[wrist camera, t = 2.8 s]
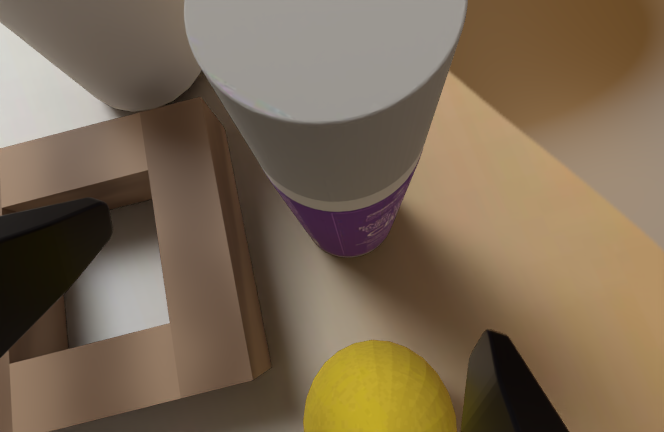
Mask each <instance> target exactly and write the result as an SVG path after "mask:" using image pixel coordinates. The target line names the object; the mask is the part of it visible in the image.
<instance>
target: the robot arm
mask: <svg viewBox="0 0 664 432" xmlns="http://www.w3.org/2000/svg"><path fill="white" fill-rule="evenodd" d="M112 231H113V229H112V223H111V217H110V211H109V207H108V205H107V203H105V202H104V201H101V200H98V199H95V198H91V197H87V198H82V199H77V200H72V201H68V202H63V203H58V204H54V205H49V206H44V207H40V208H35V209H30V210H26V211H21V212H16V213H11V214H7V215H2V216H0V358H1V357H2V356H3V355H4V354H5V353H6V352H7V351H8V350H9V349H10V348H11V347H12V346H13V345H14V344H15V343H16V342H17V341H18V340H19V339H20V338H21V337H22V336H23V335H24V334H25V333H26V332H27V331H28V330H29V329H30V328H31V327H32V326H33V325H34V324H35V323H36V322H37V321H38V320H39V319H40V318H41V317H42V316H43V315H44V314H45V313H46V312H47V311H48V310H49V309H50V308H51V307H52V306H53V305H54V304H55V303H56V302H57V301H58V300H59V299H60V298H61V297H62V295H63V294H64V293H65V292H66V291H67V290H68V289H69V288H70V287H71V286H72V285H73V283H74V282H75V281H76V280H77V279H78V277H79V276H80V275H81V274H82V272H83V271H84V270H85V269H86V268H87V266H88V265H89V264H90V263H91V261H92V260H93V259H94V258H95V256H96V255H97V254H98V253H99V252H100V250H101V249H102V248H103V247H104V245H105V244H106V243H107V242H108V240H109V239H110V237H111V235H112ZM461 432H569V430H568V429H567V427H566V426H565V424H564V423H563V421H562V420H561V418H560V416H559V415H558V413H557V412H556V410H555V409H554V407H553V405H552V404H551V402H550V401H549V399H548V398H547V396H546V394H545V393H544V391H543V390H542V388H541V387H540V385H539V383H538V382H537V380H536V379H535V377H534V376H533V374H532V373H531V371H530V369H529V368H528V366H527V365H526V363H525V362H524V360H523V358H522V357H521V355H520V354H519V352H518V351H517V349H516V347H515V346H514V344H513V343H512V341H511V340H510V338H509V337H508V336H507V335H506V334H503V333H500V332H497V331H494V330H491V329H487V330H486V331H484V333H483V334H482V336H481V338H480V339H479V341H478V343H477V344H476V346H475V348H474V349H473V351H472V353H471V355H470V358H469V363H468V372H467V380H466V389H465V397H464V406H463V415H462V424H461Z"/></svg>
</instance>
